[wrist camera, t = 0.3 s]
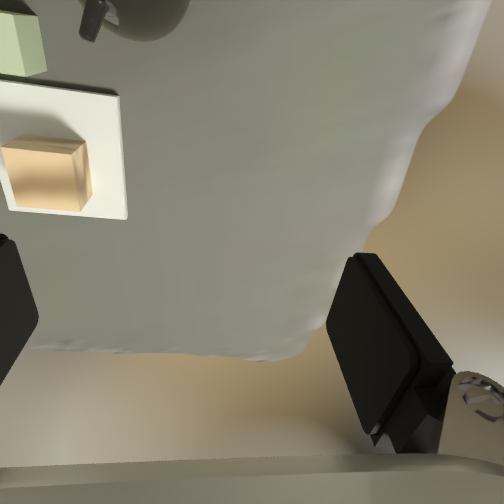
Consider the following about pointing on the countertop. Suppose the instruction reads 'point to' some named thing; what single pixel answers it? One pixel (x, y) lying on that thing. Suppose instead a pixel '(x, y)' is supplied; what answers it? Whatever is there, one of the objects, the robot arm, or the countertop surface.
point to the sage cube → (20, 45)
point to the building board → (73, 128)
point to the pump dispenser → (131, 18)
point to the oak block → (48, 172)
